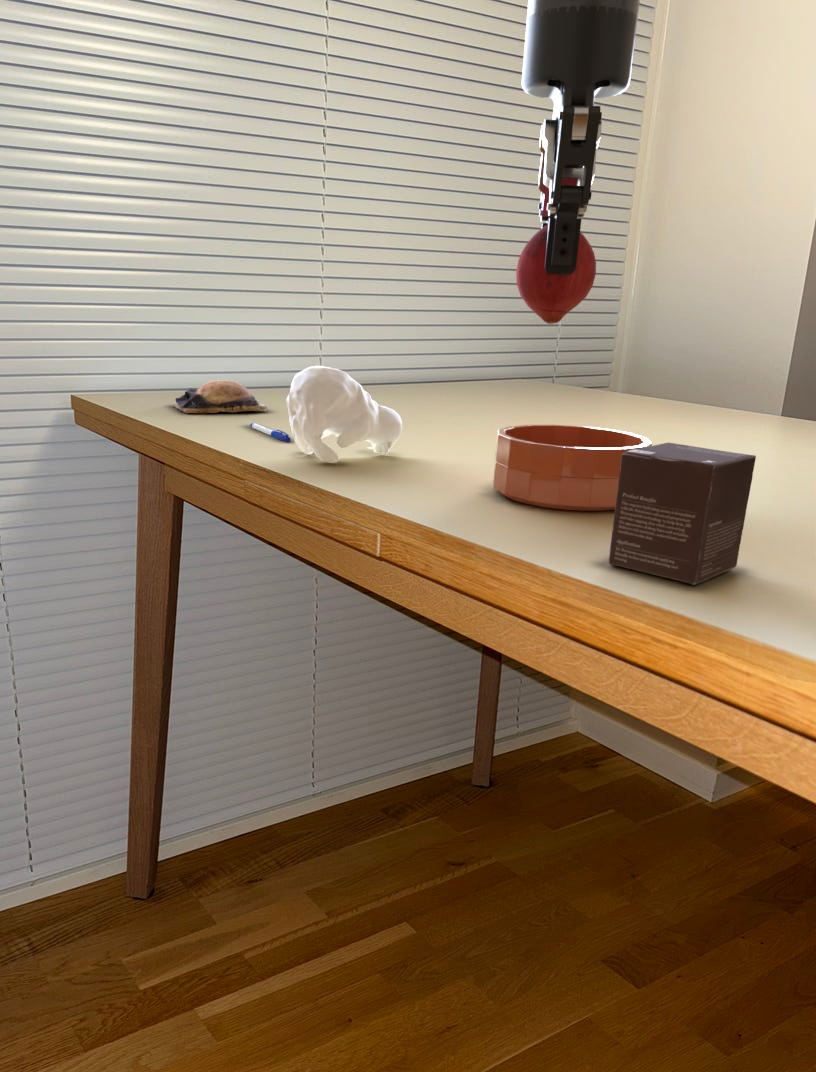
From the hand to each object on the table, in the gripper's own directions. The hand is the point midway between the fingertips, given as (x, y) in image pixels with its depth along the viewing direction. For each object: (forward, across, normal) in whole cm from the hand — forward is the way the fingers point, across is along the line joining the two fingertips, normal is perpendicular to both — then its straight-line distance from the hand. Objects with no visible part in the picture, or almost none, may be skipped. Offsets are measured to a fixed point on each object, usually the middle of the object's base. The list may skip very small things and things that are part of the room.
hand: (555, 273), depth 73 cm
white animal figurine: (+17, +15, +17) cm, 28 cm away
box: (+18, -18, -8) cm, 26 cm away
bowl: (+17, +2, -3) cm, 18 cm away
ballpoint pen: (+18, +26, +27) cm, 41 cm away
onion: (+4, 0, 0) cm, 4 cm away
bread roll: (+17, +43, +36) cm, 59 cm away
